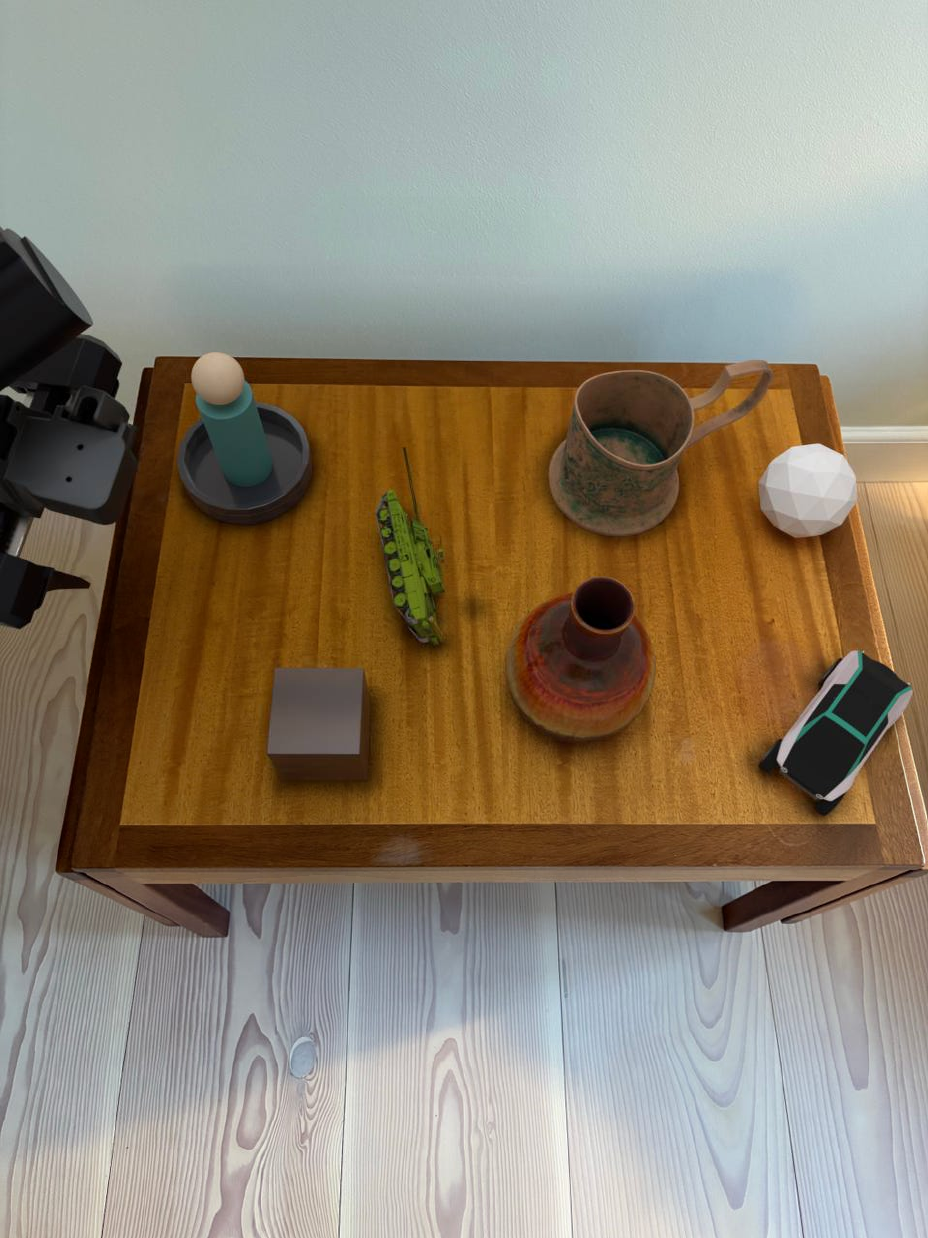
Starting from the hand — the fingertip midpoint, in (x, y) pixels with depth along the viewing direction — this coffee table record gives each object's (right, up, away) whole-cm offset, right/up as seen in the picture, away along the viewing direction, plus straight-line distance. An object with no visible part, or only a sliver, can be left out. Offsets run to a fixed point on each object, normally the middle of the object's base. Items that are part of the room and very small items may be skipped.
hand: (105, 524), depth 63 cm
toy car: (+54, -16, +7) cm, 56 cm away
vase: (+34, -12, +8) cm, 37 cm away
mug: (+42, +6, +17) cm, 45 cm away
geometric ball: (+53, +1, +10) cm, 54 cm away
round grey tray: (+6, +6, +16) cm, 18 cm away
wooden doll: (+6, +7, +15) cm, 18 cm away
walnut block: (+15, -16, +6) cm, 23 cm away
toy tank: (+22, -1, +13) cm, 26 cm away
